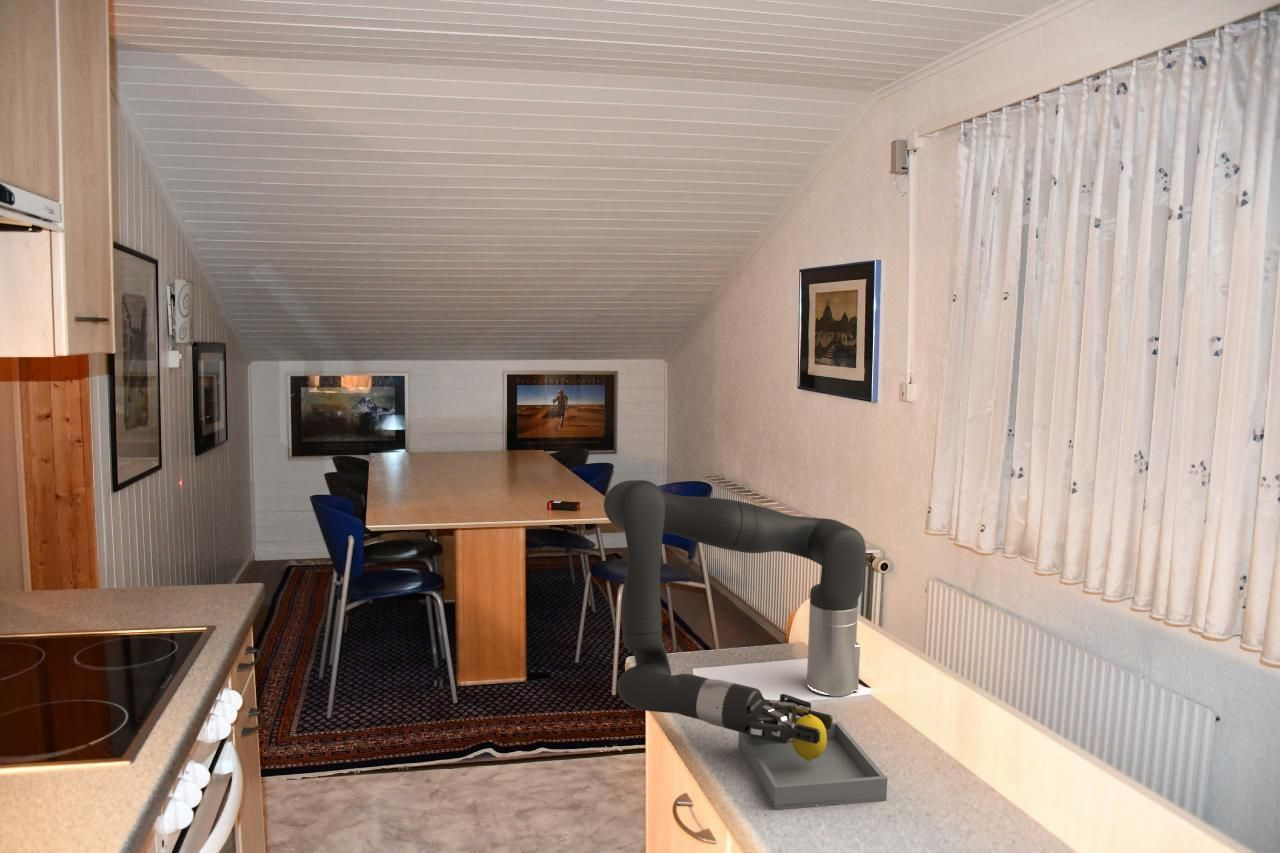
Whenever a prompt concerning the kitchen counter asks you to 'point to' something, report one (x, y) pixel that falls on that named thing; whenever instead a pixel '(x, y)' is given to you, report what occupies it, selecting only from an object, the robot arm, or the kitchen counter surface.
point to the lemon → (808, 748)
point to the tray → (814, 772)
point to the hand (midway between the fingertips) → (825, 729)
